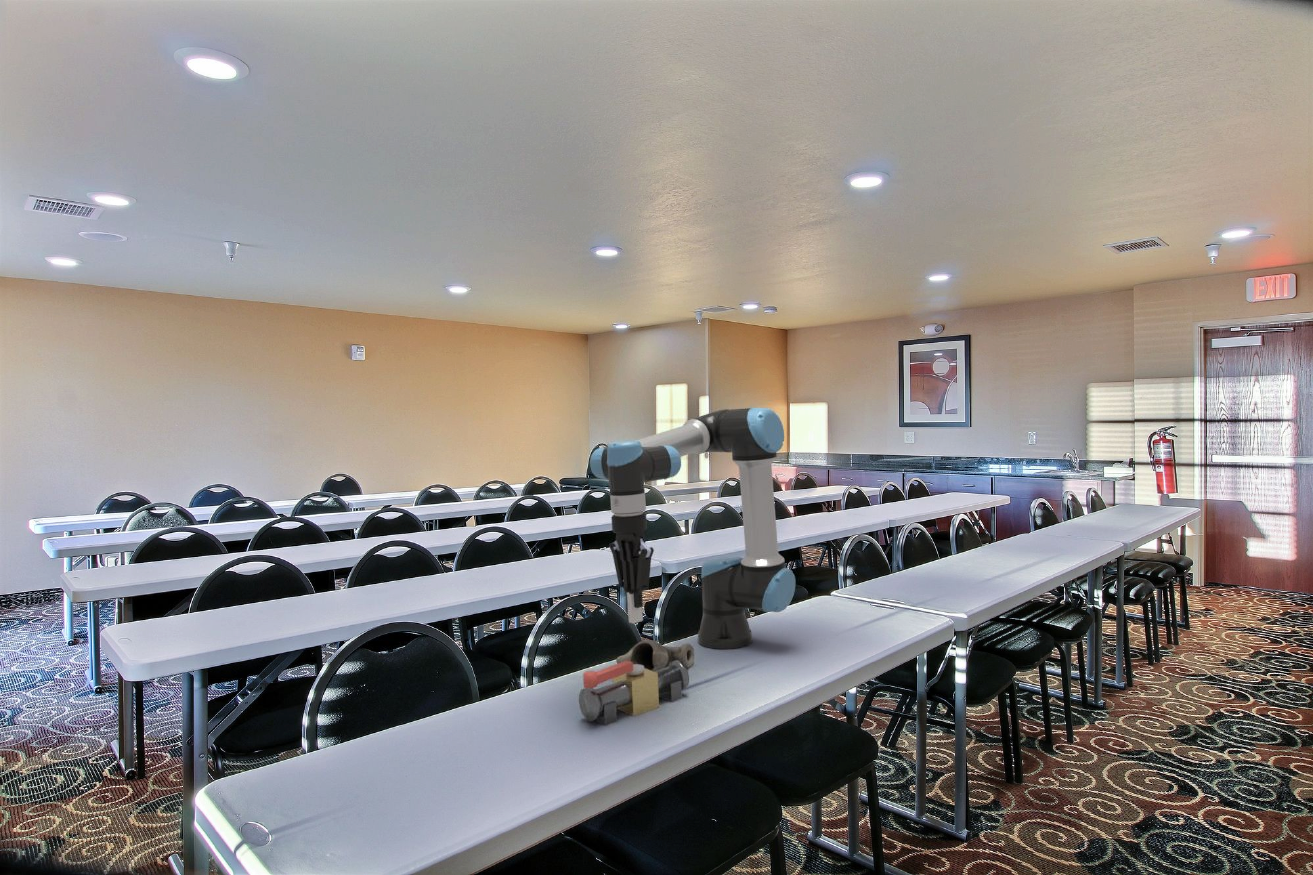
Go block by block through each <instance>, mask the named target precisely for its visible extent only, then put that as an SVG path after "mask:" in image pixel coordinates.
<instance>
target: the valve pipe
mask: <svg viewBox="0 0 1313 875" xmlns="http://www.w3.org/2000/svg"><path fill="white" fill-rule="evenodd" d="M689 684H690V674H689V670H688V668H686V667H685V665H684V664H683V663H682V662H681V661H678V660H676V661H673V662H670V663H669V664H668V665H666V666H665V667H664V668H662V669H659V670H656V671H651V670H648V669H645V668H644V673H642V674H639V675H629V674H627V673H626V674H623V675H621V676H618V677H615V678H613V679H612V683H611V684H608V685H604V686H601V687H598V688H585V687H583V688H582V689H581V690H580V692H579V695H578V705H579V709H580V712H581V714H582V716H583V717H584V718H585V720H587V721H589V722H593V721H596V722H598V723H600V724H602V725H604V726H606V725H609V724H612V723H614V722H617V710H618V711H619V710H620V712H623V713H625V714H628V715H630V716H632V717H636V716H638V715H641V714H643V713H647V712H650V711H652V710H655V709H658V708H660V699H659V698H661V699H664V700H665V701H666V700H667V701H669V702H675V701H679V700H682V699H683V693H682V691H684V690H686V689H688V686H689Z"/></svg>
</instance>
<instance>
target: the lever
mask: <svg viewBox="0 0 1313 875" xmlns="http://www.w3.org/2000/svg"><path fill="white" fill-rule="evenodd" d="M626 673H627V674H629V675H639V674H642V673H644V666H643V665H639V664H633V662H630V661H624V662H621V663H616V664H614V665H611V666H608V667H605V668H603V669H601V670H600V669H599V670H597V671H594V670H588V671H587V670H586V671H584V672H583V673H582V677H583V679H582V680H583V688H593V689H596V687H598V685H600V684H603V683H605V682H607V681H611V680H613V678H615V677H618V676H621V675H623V674H626Z"/></svg>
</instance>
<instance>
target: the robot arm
mask: <svg viewBox="0 0 1313 875" xmlns="http://www.w3.org/2000/svg"><path fill="white" fill-rule="evenodd" d="M783 425H784V424H783V423H782V420H781V418H780V417H779V415H778V414H777V413H776V412H775V411H774V410H772V409H771V408H768V407H746V408H734V409H733V408H732V409H726V408H725V409H720V410H715V411H712V412H710V413H709V412H708V413H705V414H703V415H701V416H698V417H695V418H690V419H688V420H687V421H684V423H683V425H681V426H678V427H675V428H671V429H667V430H665V431H662V432H659V433H656V434H652V435H649V436H645V437H642V438H639V439H636V440H626V441H624V440H623V441H614V442H611V443H609V444H608V445H607V446H605V447H598V448H597V449H595V450H593V453H592V454H591V456H590V461H589V467H590V470H591V473H592V474H593V475H594V477H596V478H598V479H604V480H607V481H608V484H609V496H610V512H611V513H612V514H613V515H611V518H610V519H611V531H612V533H614V534H616V536H615V541H614V542H610V543H609V544H608V546H609V549H610V551H611V553H612V558H613V563H614V568H615V572H616V577H617V582H618V586H619V588H623V590H624V592H625V594H626V596H625V597H626V605H627V615H628V616H627V617H628V623H629V624H633V625H634V624H636V623H639V622H643V621H644V618H643V614H644V613H643V605H644V604H643V591H647V590H649V588H650V574H651V567H652V566H651V563H652V557H653V554H654V552H655V550H654V547H652V546H648V545H647V543H646V538H645V536H644V533H645V531H647V529H648V523H647V521H648V520H647V519H648V518H647V514H646V513H645V511H646V510H647V507H646V506H647V505H646V492H645V489H646V488H645V483H650V482H655V481H661V480H662V481H663V480H667V479H670V478H673V477H676V476H677V475H678V474H679V472H680V471H681V469H682V457H684V456H688V455H691V454H693V455H701V454H705V453H731V456H732V459H731V460H732V462H734V464H735V465H736V466H737V467H738V472H739V473H738V474H739V475H738V476H739V484H740V497H741V498H740V500H741V510H742V511H741V512H742V523H743V524H742V525H743V535H744V536H743V538H744V547H745V556H744V557H741V556H728V557H720V558H719V557H718V558H714V559H710V560H707V561H705V562H703V564H702V565H701V576H700V579H701V595H702V618H701V621H700V627H699V630H698V632H697V642H698V644H699V645H700V646H703V647H706V648H708V649H709V648H710V649H719V650H725V649H726V650H727V649H728V650H729V649H731V650H732V649H738V648H743V647H746V646H748V645H750V644H751V643H752V642H753V632H752V629H751V628H750V625H749V621H748V618H747V616H746V612H745V609H751V610H757V611H761V612H765V613H768V612H769V613H771V612H772V613H780V612H783V611H784V610H786V609H787V608H788V607H789V606H790V604H791V602H792V600H793V597H794V594H795V592H796V576H795V574H794V573H793V571H792V569H789V568H788V567H786V564H785V563H786V562H785V561H786V560H785V558H784V556H782V555H781V554H780V553H779V545H778V534H777V532H778V531H777V520H776V509H775V508H776V507H775V506H776V504H775V494H774V483H773V482H774V481H773V470H772V466H773V465H772V464H773V463H774V461H775V460H776V459H777V458H778V457H777V452H779V451H781V449H782V448H783V445H784V441H785V430H784V429H785V428H784V426H783Z"/></svg>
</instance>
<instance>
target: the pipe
mask: <svg viewBox="0 0 1313 875" xmlns="http://www.w3.org/2000/svg"><path fill="white" fill-rule="evenodd" d="M676 660H678V661H681V662H682V663H683V664H684V665H685V667H686V668H687V669H690V668H691V667H692V666H693V664H694V661H695V649H694V647H693V646H692V644H691V643H688V642H686V643H684V644H681V645H680V646H668V645H667V646H666V645H663V644H661V643H660V642H658V641H655V640H652V639H645V640H641V641H639V642H638V643H636V644H634V645H633V646H632V647H631V648H630V649H629V651H628V652H626V653H625V654H623V655H619V656H618V657H617V658H616V664H618V663H621V662H624V661H630V662H633V664H639V665H643V666H644V668H645V669H648V670H651V671H656V670H659V669H662V668H665V667H667V666H668V664H669V663H670V662H673V661H676Z"/></svg>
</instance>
